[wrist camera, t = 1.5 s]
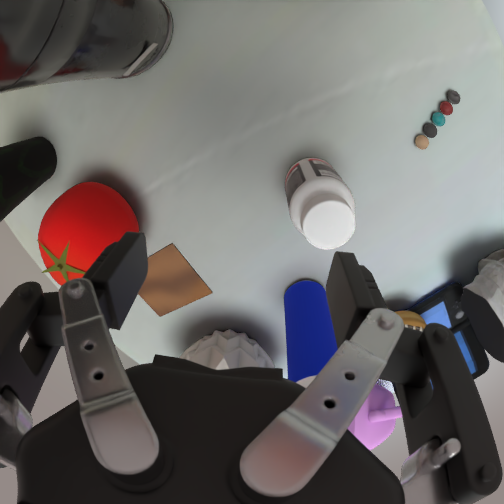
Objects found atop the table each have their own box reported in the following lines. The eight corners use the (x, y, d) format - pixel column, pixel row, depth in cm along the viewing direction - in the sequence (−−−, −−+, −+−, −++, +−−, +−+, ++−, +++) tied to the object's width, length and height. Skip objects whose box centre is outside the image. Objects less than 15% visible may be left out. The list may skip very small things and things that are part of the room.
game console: (457, 275, 35) (488, 321, 27) (470, 327, 40) (492, 368, 32) (362, 331, 40) (377, 384, 32) (391, 372, 45) (404, 417, 37)
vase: (224, 285, 37) (200, 426, 21) (309, 350, 42) (320, 469, 27) (153, 342, 43) (118, 451, 27) (233, 391, 49) (223, 490, 33)
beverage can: (297, 315, 39) (305, 418, 26) (275, 290, 37) (277, 397, 24) (332, 298, 37) (355, 400, 24) (313, 270, 35) (333, 376, 22)
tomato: (132, 159, 29) (79, 198, 20) (162, 246, 34) (130, 308, 25) (60, 184, 30) (3, 226, 21) (92, 259, 36) (51, 314, 27)
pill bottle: (298, 215, 32) (310, 268, 23) (274, 171, 29) (278, 211, 21) (345, 193, 30) (374, 240, 22) (324, 147, 28) (349, 177, 19)
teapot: (363, 466, 30) (423, 448, 33) (362, 370, 36) (419, 366, 39) (296, 453, 46) (349, 446, 49) (296, 385, 53) (348, 384, 56)
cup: (33, 195, 31) (-28, 242, 21) (12, 143, 27) (-55, 178, 17) (72, 175, 30) (6, 223, 20) (50, 117, 26) (-25, 145, 16)
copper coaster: (121, 273, 37) (120, 274, 37) (172, 242, 34) (172, 243, 34) (160, 316, 40) (159, 316, 40) (212, 292, 37) (212, 293, 37)
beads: (449, 88, 23) (454, 87, 22) (459, 97, 23) (464, 97, 22) (411, 142, 27) (414, 143, 26) (421, 151, 27) (425, 152, 26)
